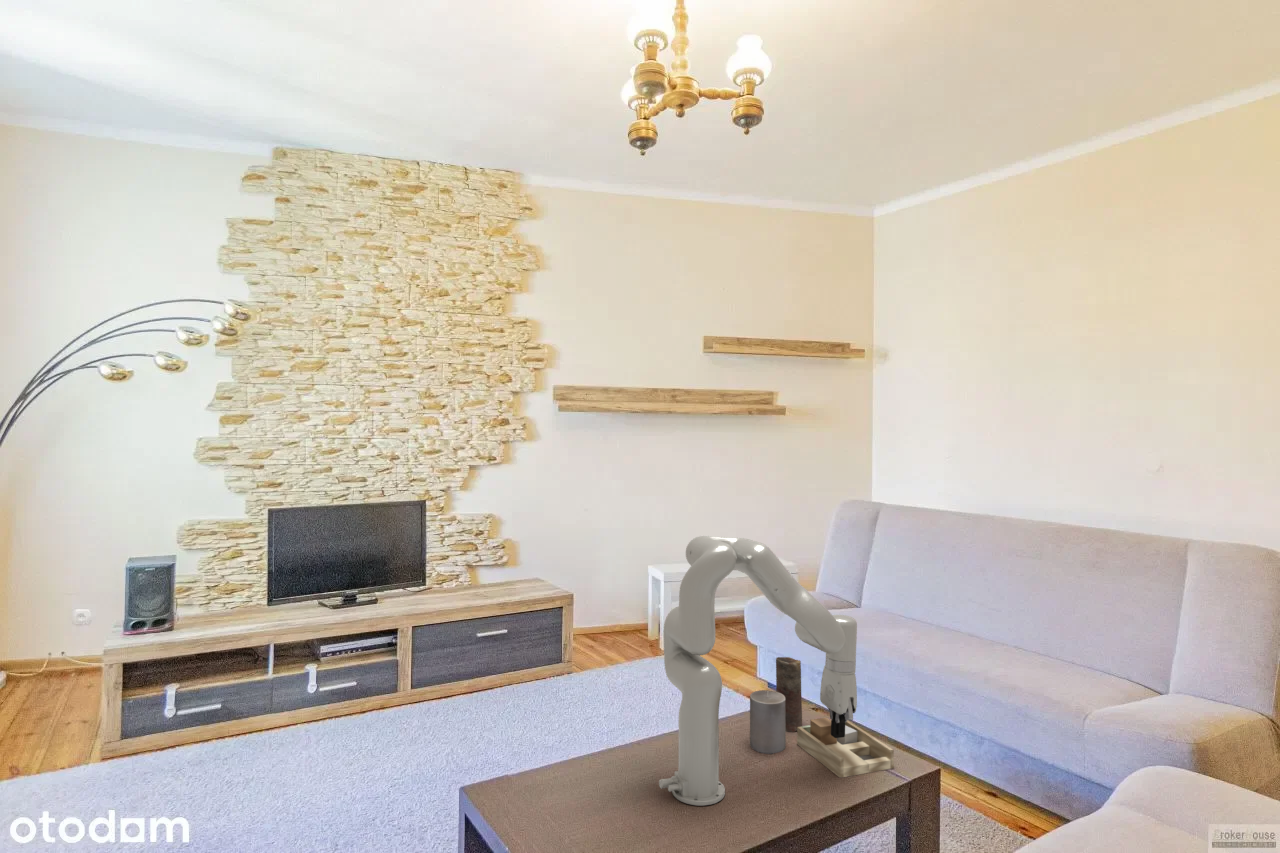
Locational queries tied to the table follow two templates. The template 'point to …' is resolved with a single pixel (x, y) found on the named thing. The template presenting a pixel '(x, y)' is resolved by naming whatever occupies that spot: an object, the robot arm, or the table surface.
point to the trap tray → (848, 753)
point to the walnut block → (822, 730)
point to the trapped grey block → (848, 736)
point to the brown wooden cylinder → (790, 690)
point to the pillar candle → (767, 721)
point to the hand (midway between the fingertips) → (837, 736)
